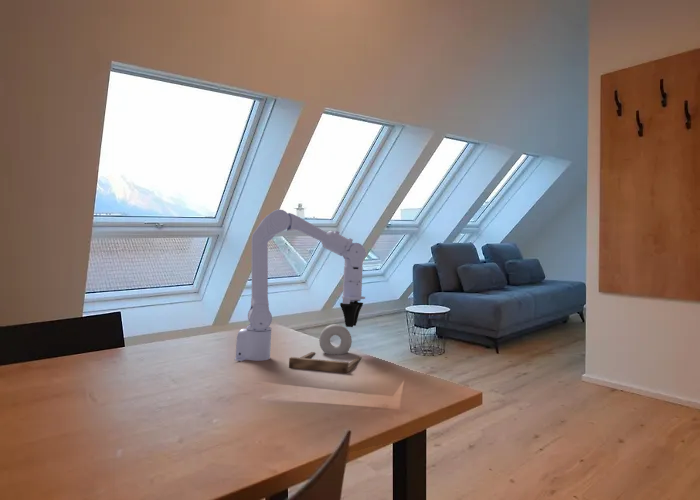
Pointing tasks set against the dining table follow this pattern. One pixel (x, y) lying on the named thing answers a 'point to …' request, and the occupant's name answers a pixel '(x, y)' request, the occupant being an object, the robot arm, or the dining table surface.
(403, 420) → the dining table surface
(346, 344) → the donut
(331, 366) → the guide track
